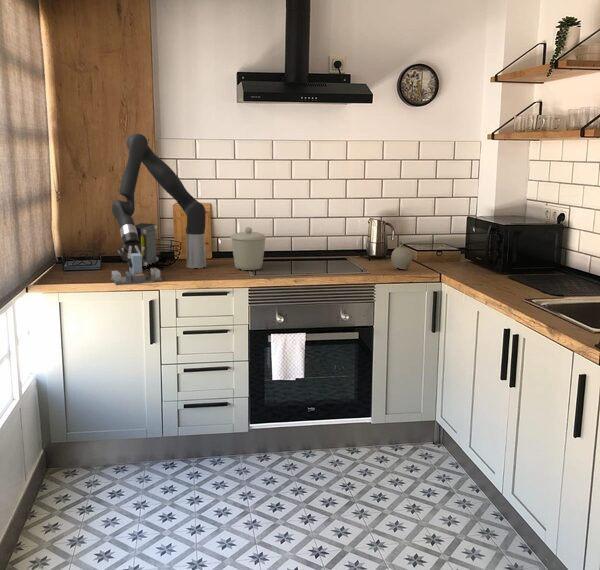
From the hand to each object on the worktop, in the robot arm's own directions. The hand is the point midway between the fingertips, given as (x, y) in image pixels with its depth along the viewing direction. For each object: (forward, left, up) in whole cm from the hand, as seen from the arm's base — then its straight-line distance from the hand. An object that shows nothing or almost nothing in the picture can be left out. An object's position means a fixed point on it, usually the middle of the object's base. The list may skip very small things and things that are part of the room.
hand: (136, 266), depth 320 cm
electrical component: (-9, -38, -7) cm, 40 cm away
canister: (-57, -12, -7) cm, 59 cm away
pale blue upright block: (0, -2, -5) cm, 5 cm away
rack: (0, -2, -7) cm, 7 cm away
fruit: (-131, +11, -7) cm, 132 cm away
